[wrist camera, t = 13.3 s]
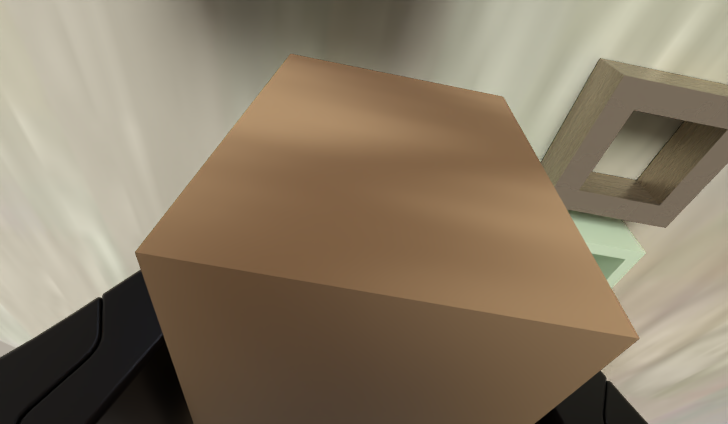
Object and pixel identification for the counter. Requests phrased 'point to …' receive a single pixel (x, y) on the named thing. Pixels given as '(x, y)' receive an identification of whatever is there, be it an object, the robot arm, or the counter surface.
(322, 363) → the block
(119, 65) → the counter surface
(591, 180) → the pin socket
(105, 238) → the counter surface
